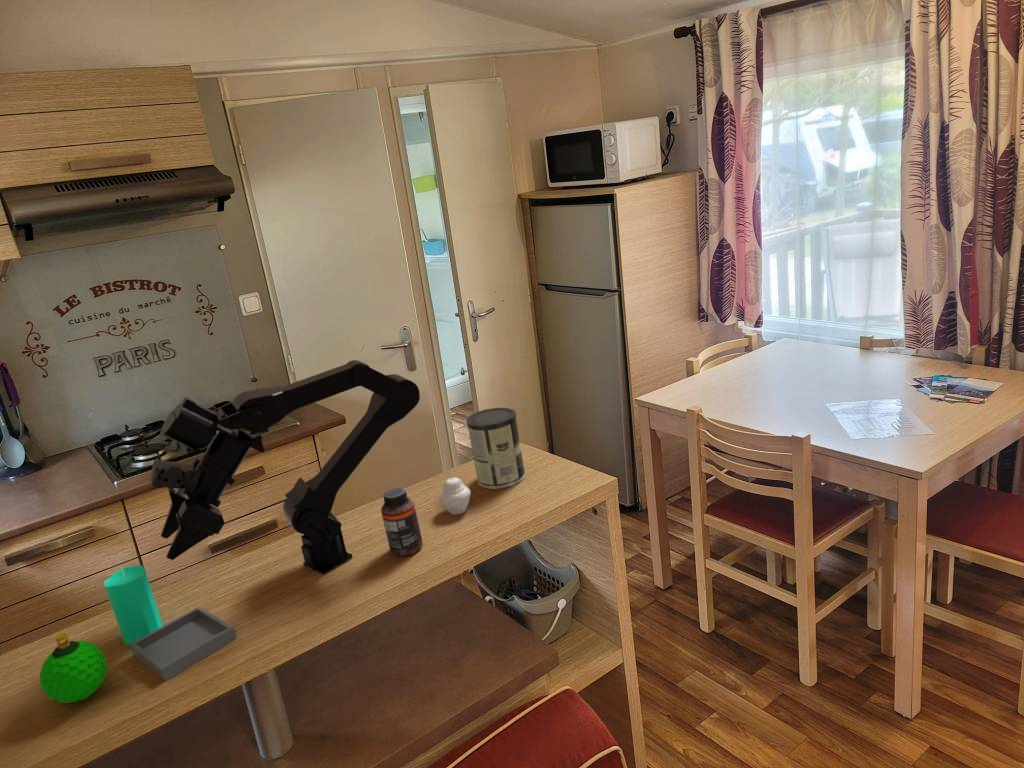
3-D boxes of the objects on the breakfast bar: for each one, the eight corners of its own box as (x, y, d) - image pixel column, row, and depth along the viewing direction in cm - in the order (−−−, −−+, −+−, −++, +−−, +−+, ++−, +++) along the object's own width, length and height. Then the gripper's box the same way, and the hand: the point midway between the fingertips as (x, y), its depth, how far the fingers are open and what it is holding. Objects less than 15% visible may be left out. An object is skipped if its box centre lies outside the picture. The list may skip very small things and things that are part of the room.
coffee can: (500, 465, 164) (490, 404, 160) (535, 473, 157) (526, 410, 153) (466, 483, 157) (455, 421, 153) (501, 493, 150) (490, 428, 146)
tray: (202, 616, 122) (199, 606, 121) (236, 638, 114) (233, 626, 114) (133, 655, 114) (129, 644, 113) (165, 681, 106) (161, 669, 106)
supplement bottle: (410, 537, 137) (398, 481, 134) (430, 546, 133) (418, 488, 130) (383, 552, 134) (371, 495, 130) (403, 561, 129) (390, 502, 126)
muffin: (436, 513, 146) (429, 480, 144) (460, 500, 149) (454, 468, 147) (454, 521, 141) (448, 488, 139) (479, 508, 145) (474, 475, 143)
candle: (152, 617, 124) (131, 553, 120) (170, 628, 120) (149, 562, 116) (116, 637, 119) (93, 572, 116) (133, 649, 115) (110, 581, 112)
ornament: (106, 669, 111) (86, 611, 108) (120, 693, 105) (99, 632, 102) (46, 698, 107) (22, 639, 104) (56, 725, 100) (32, 663, 98)
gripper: (167, 426, 124) (114, 508, 123) (180, 456, 108) (119, 550, 107) (227, 455, 130) (177, 534, 128) (248, 488, 114) (191, 578, 113)
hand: (166, 547), depth 119 cm, fingers open, 9 cm apart
